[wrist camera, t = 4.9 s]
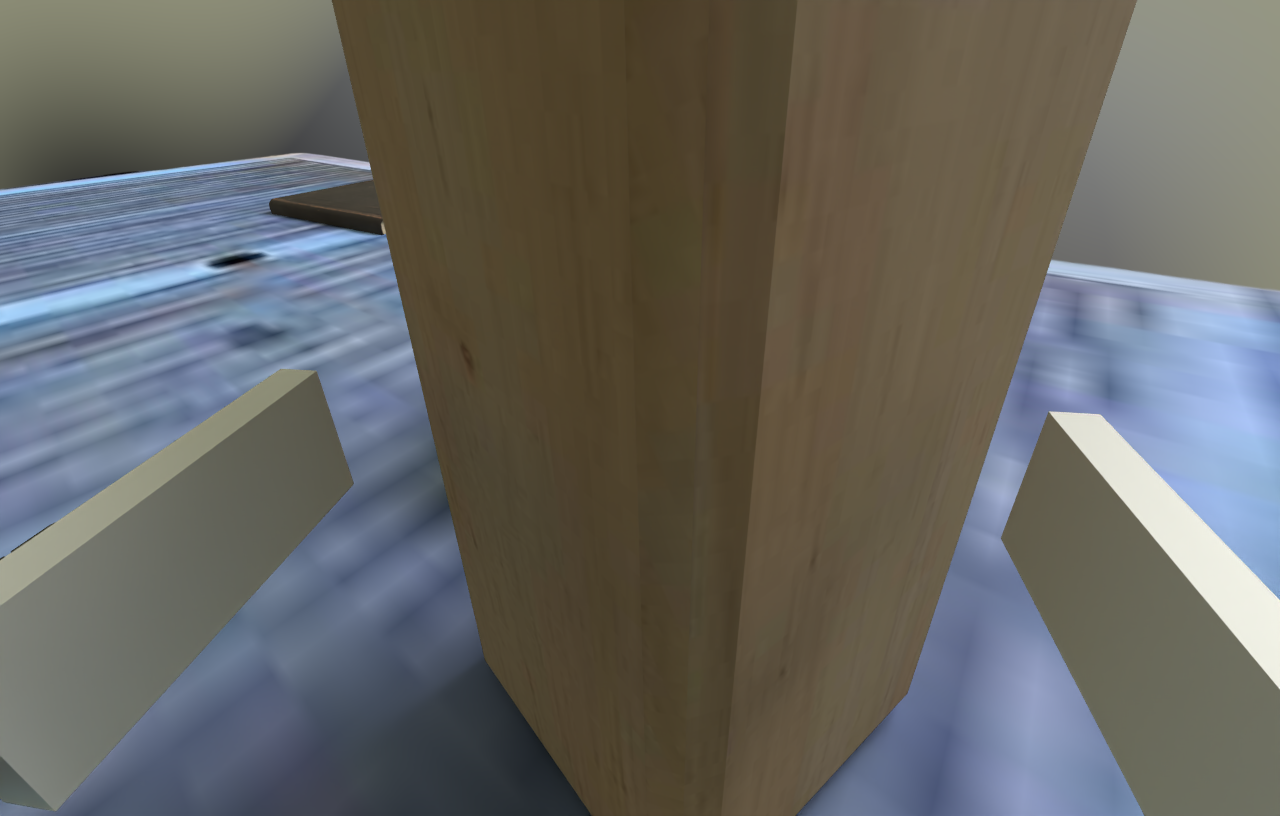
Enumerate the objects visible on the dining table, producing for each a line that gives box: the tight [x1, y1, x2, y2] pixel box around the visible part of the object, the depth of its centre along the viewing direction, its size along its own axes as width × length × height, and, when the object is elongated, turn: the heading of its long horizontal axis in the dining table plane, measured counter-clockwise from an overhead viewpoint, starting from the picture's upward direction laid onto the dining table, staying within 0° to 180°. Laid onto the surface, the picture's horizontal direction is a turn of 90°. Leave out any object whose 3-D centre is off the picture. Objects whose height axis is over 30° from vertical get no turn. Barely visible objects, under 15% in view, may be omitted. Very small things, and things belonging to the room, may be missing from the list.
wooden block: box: [332, 0, 1137, 816], centre depth 14 cm, size 10×10×20 cm
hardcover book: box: [269, 180, 386, 235], centre depth 79 cm, size 16×23×2 cm
